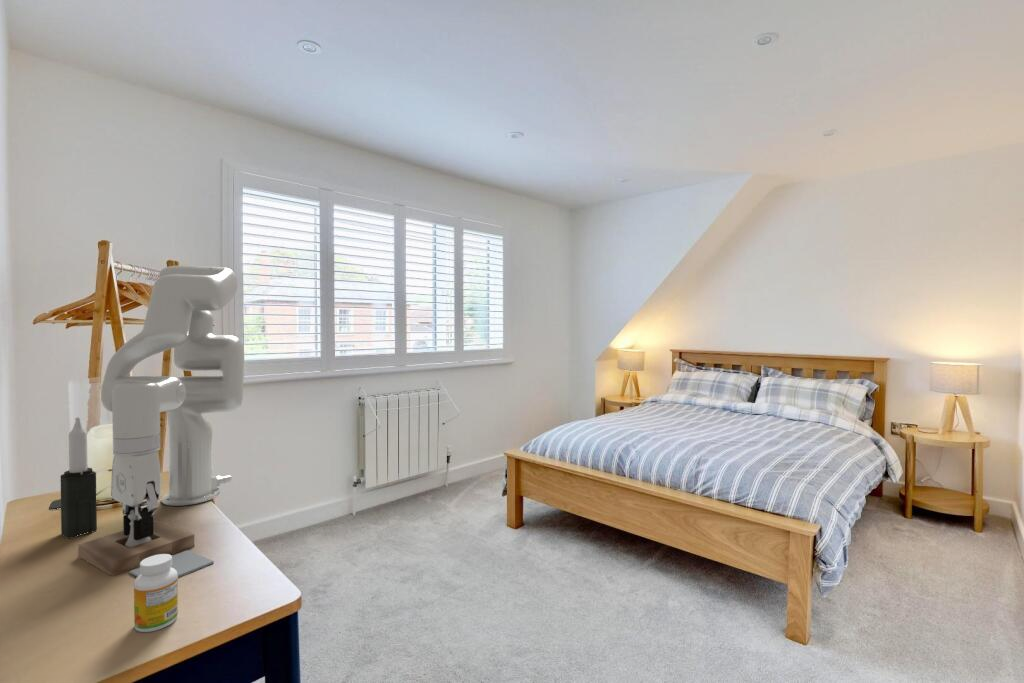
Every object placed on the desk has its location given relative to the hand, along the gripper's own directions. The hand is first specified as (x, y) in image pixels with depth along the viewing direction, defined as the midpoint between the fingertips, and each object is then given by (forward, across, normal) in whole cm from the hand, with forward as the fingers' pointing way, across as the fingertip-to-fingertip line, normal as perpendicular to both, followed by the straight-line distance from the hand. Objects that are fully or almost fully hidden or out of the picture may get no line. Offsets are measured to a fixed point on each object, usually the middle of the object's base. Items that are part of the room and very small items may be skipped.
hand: (138, 534), depth 99 cm
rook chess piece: (+3, 0, 0) cm, 3 cm away
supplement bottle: (+3, +29, -10) cm, 31 cm away
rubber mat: (+3, +13, 0) cm, 14 cm away
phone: (+4, -43, +8) cm, 44 cm away
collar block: (+3, 0, 0) cm, 3 cm away
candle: (+4, -21, -2) cm, 21 cm away
